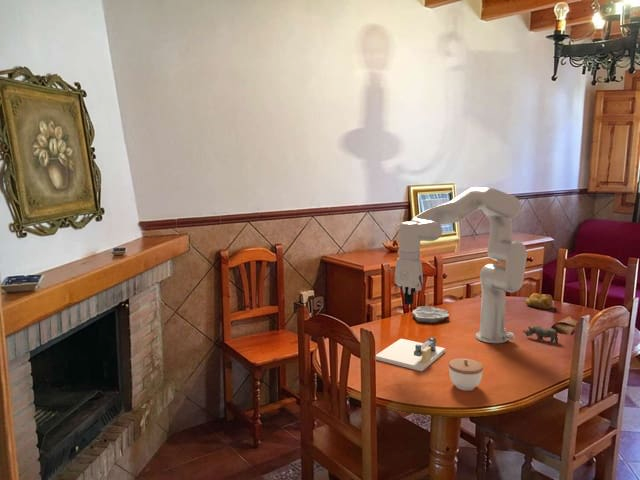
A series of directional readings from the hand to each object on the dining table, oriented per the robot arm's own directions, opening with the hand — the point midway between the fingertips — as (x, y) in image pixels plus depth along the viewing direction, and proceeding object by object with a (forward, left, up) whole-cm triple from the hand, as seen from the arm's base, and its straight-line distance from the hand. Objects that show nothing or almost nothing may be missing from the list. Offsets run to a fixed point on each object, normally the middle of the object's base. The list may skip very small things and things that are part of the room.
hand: (408, 303), depth 187 cm
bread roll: (-27, -98, -22) cm, 103 cm away
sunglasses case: (-44, -70, -22) cm, 86 cm away
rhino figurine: (-37, -48, -22) cm, 64 cm away
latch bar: (-6, -2, -19) cm, 20 cm away
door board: (0, -2, -21) cm, 21 cm away
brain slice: (+12, -50, -22) cm, 56 cm away
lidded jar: (-26, +12, -21) cm, 36 cm away
